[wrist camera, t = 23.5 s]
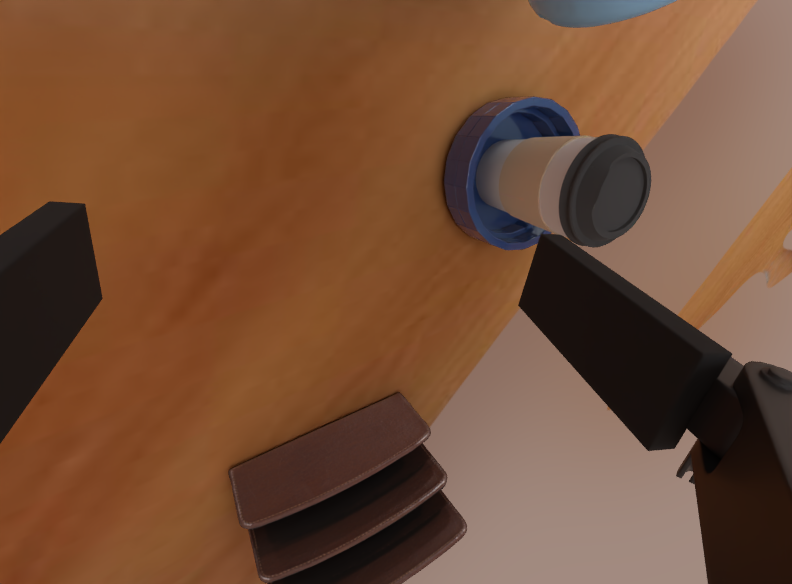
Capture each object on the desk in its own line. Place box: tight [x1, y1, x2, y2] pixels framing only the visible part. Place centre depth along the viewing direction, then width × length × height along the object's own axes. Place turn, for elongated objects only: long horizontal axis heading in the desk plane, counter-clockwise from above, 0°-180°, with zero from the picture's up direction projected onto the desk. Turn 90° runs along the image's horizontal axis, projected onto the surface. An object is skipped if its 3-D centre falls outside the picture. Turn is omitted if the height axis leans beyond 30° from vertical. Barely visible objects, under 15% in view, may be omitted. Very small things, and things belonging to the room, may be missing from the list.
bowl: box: [444, 97, 580, 250], centre depth 45 cm, size 15×15×4 cm
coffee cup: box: [476, 134, 651, 247], centre depth 40 cm, size 9×9×15 cm
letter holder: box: [229, 392, 467, 584], centre depth 44 cm, size 10×20×14 cm, turn 100°
